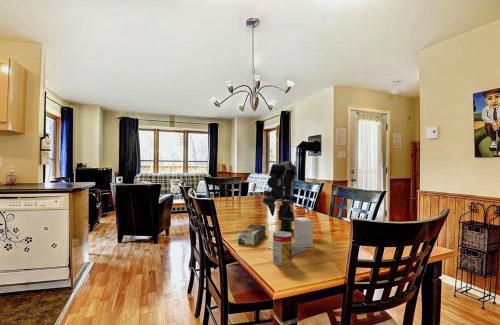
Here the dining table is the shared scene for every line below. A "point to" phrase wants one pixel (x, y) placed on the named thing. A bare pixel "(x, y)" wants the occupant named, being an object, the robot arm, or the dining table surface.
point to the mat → (295, 249)
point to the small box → (303, 232)
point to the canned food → (282, 248)
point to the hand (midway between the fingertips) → (278, 214)
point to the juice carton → (251, 234)
